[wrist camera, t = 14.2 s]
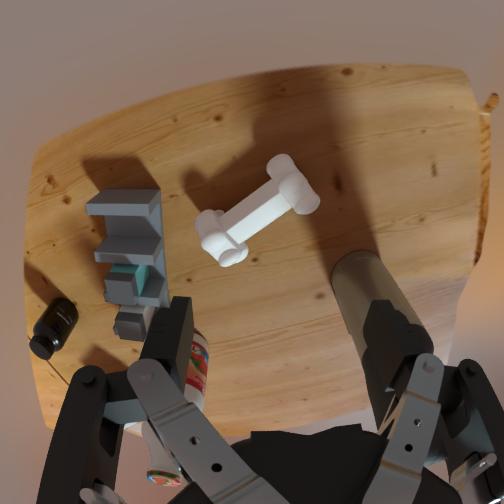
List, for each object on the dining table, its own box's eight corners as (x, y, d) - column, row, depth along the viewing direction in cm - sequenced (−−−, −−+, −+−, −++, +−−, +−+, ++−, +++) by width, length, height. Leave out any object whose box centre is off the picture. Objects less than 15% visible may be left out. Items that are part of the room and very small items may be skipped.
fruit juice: (159, 325, 53) (123, 465, 28) (209, 330, 54) (195, 477, 29) (164, 358, 57) (138, 484, 33) (209, 363, 58) (198, 493, 34)
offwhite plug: (155, 308, 50) (143, 341, 43) (133, 306, 49) (120, 338, 42) (152, 290, 48) (139, 322, 41) (129, 288, 47) (114, 319, 40)
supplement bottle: (79, 303, 50) (53, 347, 40) (79, 326, 54) (57, 369, 43) (50, 291, 49) (22, 332, 39) (52, 315, 52) (28, 355, 42)
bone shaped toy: (232, 248, 46) (233, 282, 39) (193, 208, 42) (187, 239, 35) (314, 190, 42) (332, 216, 35) (279, 142, 38) (292, 160, 31)
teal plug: (146, 251, 44) (130, 281, 37) (149, 273, 46) (135, 305, 39) (122, 250, 44) (103, 279, 37) (126, 272, 46) (109, 303, 39)
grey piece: (171, 316, 52) (165, 340, 47) (124, 312, 51) (114, 334, 46) (160, 188, 40) (148, 204, 35) (103, 189, 40) (85, 203, 35)
